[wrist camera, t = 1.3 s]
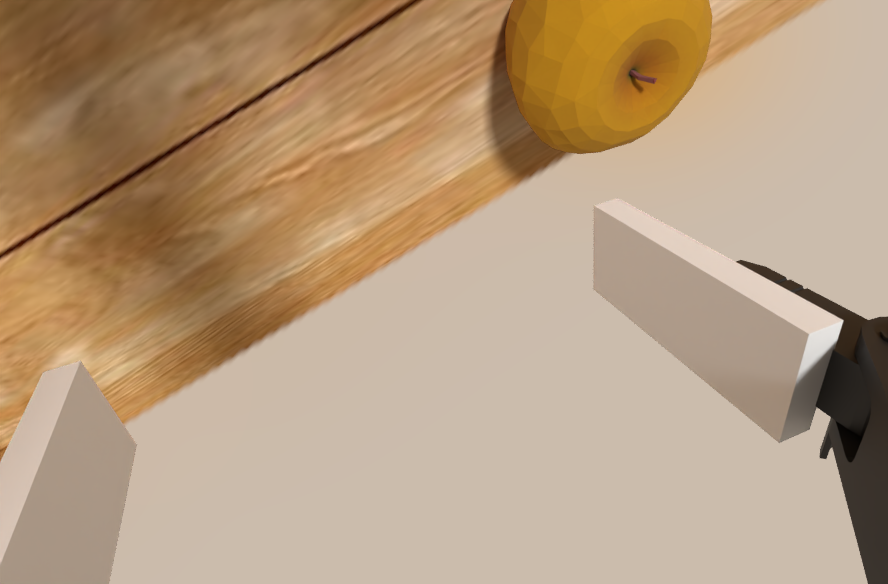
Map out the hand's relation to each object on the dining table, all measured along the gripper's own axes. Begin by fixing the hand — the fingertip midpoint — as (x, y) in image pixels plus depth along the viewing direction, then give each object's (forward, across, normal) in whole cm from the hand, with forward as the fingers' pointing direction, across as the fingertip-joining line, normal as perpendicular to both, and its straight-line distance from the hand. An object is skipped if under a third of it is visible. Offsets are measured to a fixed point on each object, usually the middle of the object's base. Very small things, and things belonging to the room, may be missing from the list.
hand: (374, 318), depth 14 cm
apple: (+27, +20, +2) cm, 34 cm away
